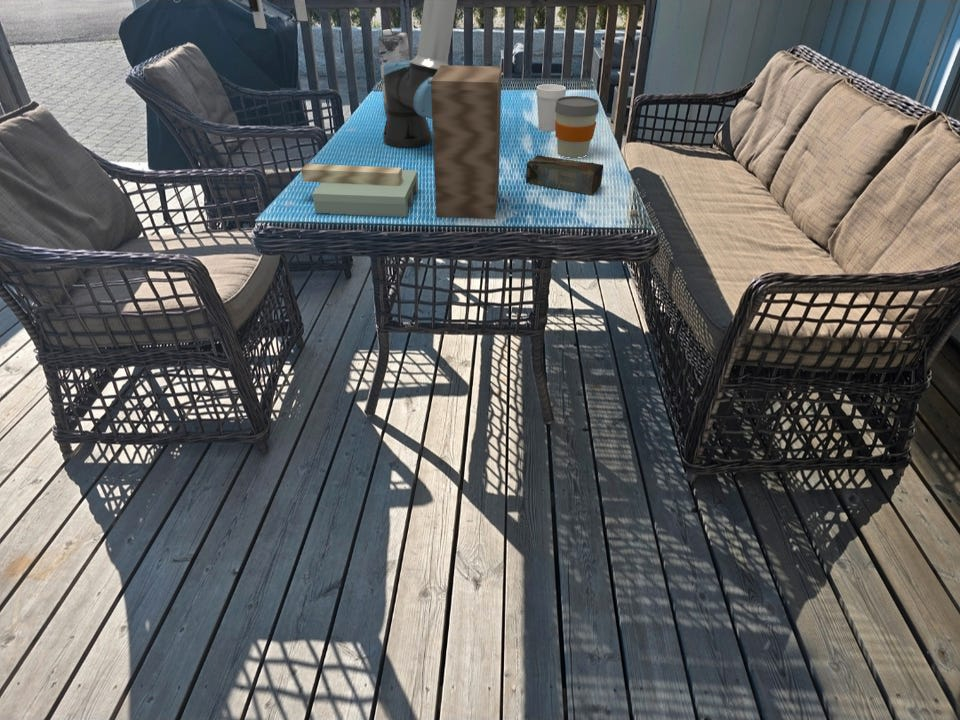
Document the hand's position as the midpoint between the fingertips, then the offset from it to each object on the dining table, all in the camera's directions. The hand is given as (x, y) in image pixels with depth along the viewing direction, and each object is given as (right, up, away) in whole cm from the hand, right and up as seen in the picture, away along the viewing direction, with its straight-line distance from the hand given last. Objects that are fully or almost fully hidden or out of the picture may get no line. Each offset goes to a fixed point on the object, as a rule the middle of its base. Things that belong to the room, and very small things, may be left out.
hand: (282, 24), depth 141 cm
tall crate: (+44, -41, +7) cm, 61 cm away
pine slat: (+16, -35, +6) cm, 39 cm away
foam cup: (+70, -2, +60) cm, 92 cm away
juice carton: (+18, +8, +72) cm, 75 cm away
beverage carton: (+69, -33, +18) cm, 79 cm away
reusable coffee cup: (+75, -17, +39) cm, 86 cm away
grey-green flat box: (+19, -40, +8) cm, 45 cm away
